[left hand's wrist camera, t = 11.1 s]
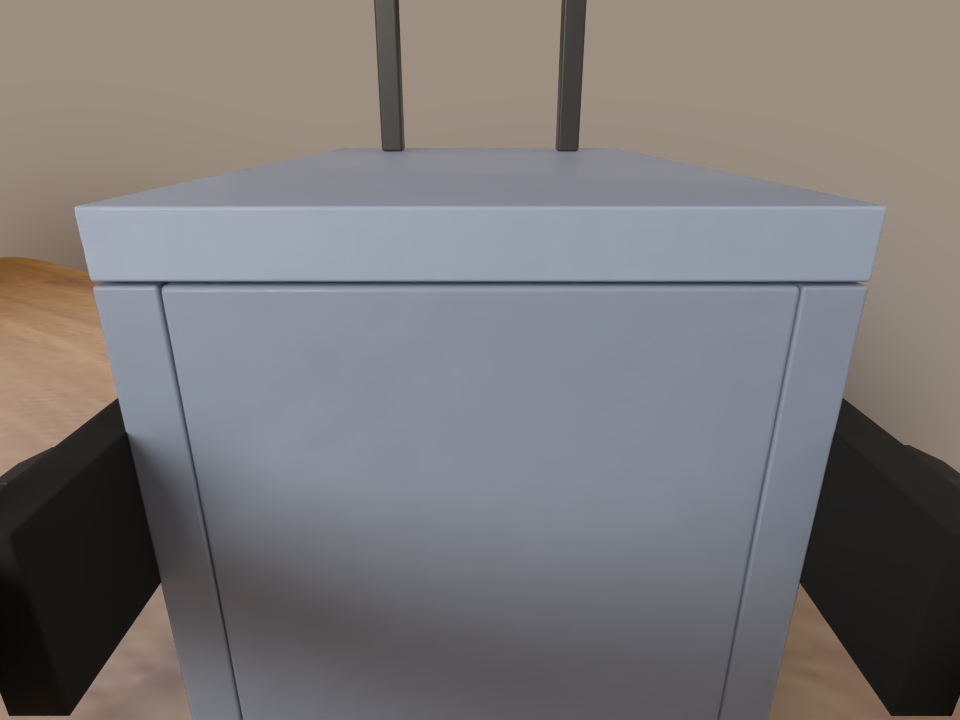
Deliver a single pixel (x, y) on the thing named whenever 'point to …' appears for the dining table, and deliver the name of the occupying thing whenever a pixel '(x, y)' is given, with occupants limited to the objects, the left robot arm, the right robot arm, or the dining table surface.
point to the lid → (480, 212)
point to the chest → (480, 490)
